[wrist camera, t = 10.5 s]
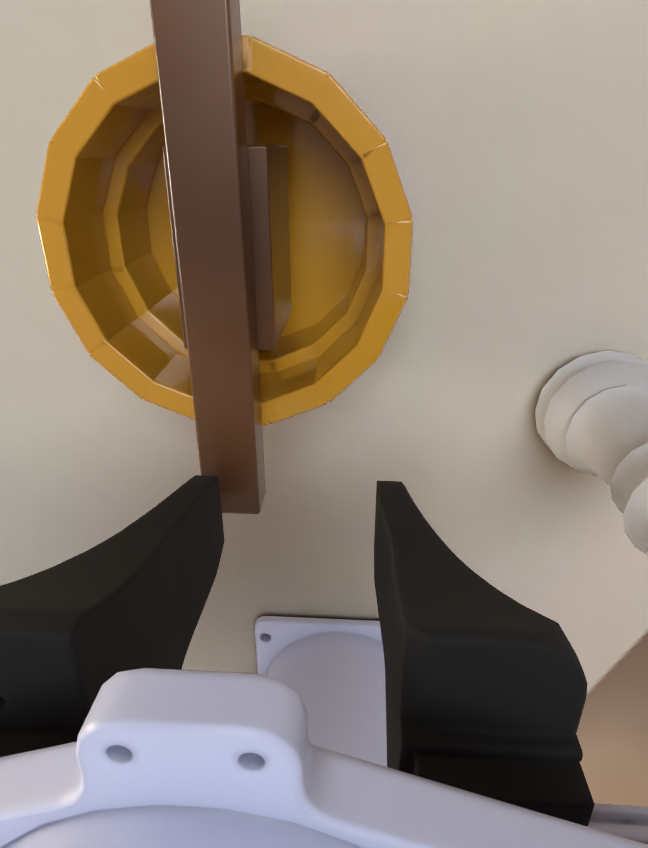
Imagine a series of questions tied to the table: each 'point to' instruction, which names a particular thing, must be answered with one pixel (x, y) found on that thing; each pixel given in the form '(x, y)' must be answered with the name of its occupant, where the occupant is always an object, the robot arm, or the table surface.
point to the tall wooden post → (222, 236)
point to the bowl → (153, 247)
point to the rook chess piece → (603, 428)
